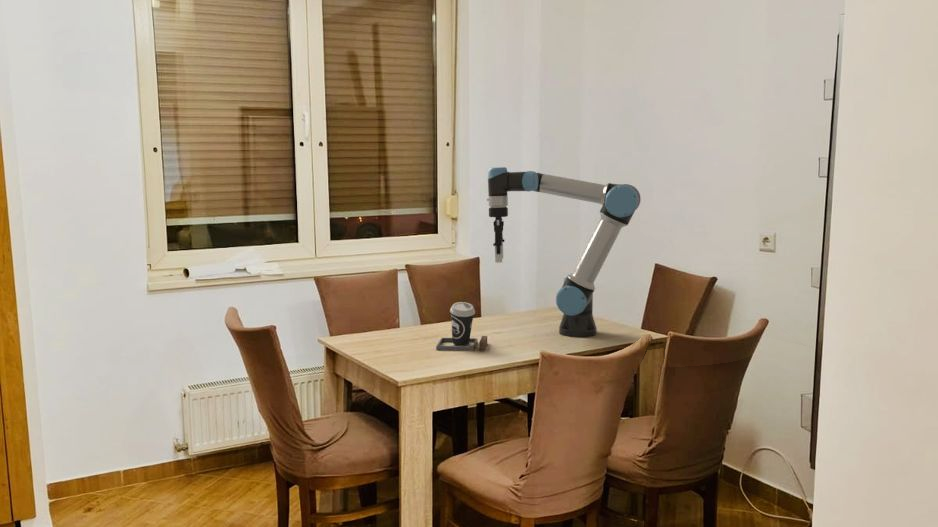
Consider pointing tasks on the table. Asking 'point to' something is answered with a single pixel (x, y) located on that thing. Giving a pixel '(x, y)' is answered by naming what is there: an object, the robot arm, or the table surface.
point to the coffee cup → (461, 322)
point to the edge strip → (483, 343)
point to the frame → (464, 348)
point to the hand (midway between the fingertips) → (499, 260)
